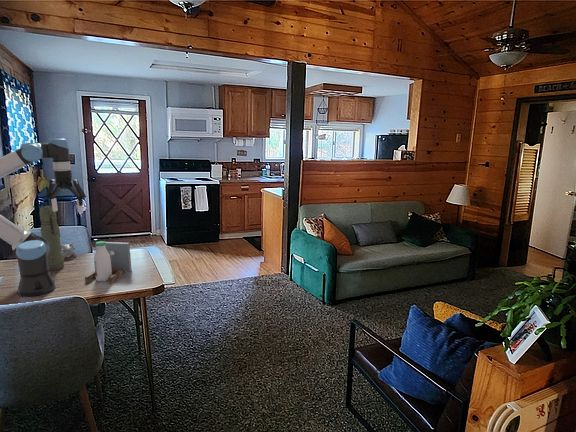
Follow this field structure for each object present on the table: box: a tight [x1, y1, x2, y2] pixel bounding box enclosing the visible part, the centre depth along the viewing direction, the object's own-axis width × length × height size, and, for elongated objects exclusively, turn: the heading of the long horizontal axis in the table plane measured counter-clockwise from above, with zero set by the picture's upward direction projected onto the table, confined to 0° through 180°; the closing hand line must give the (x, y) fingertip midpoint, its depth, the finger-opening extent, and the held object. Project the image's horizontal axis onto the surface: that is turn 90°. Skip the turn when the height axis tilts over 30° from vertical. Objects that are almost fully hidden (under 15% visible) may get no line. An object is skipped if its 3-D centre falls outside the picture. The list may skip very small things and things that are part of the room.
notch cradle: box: [84, 269, 125, 285], centre depth 198 cm, size 12×14×3 cm
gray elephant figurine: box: [60, 242, 77, 260], centre depth 232 cm, size 9×12×8 cm
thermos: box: [39, 205, 65, 271], centre depth 210 cm, size 9×12×35 cm
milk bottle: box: [93, 240, 112, 282], centre depth 195 cm, size 8×8×20 cm
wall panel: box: [105, 241, 133, 273], centre depth 206 cm, size 4×16×16 cm, turn 84°
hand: (67, 211), depth 195 cm, fingers open, 13 cm apart
